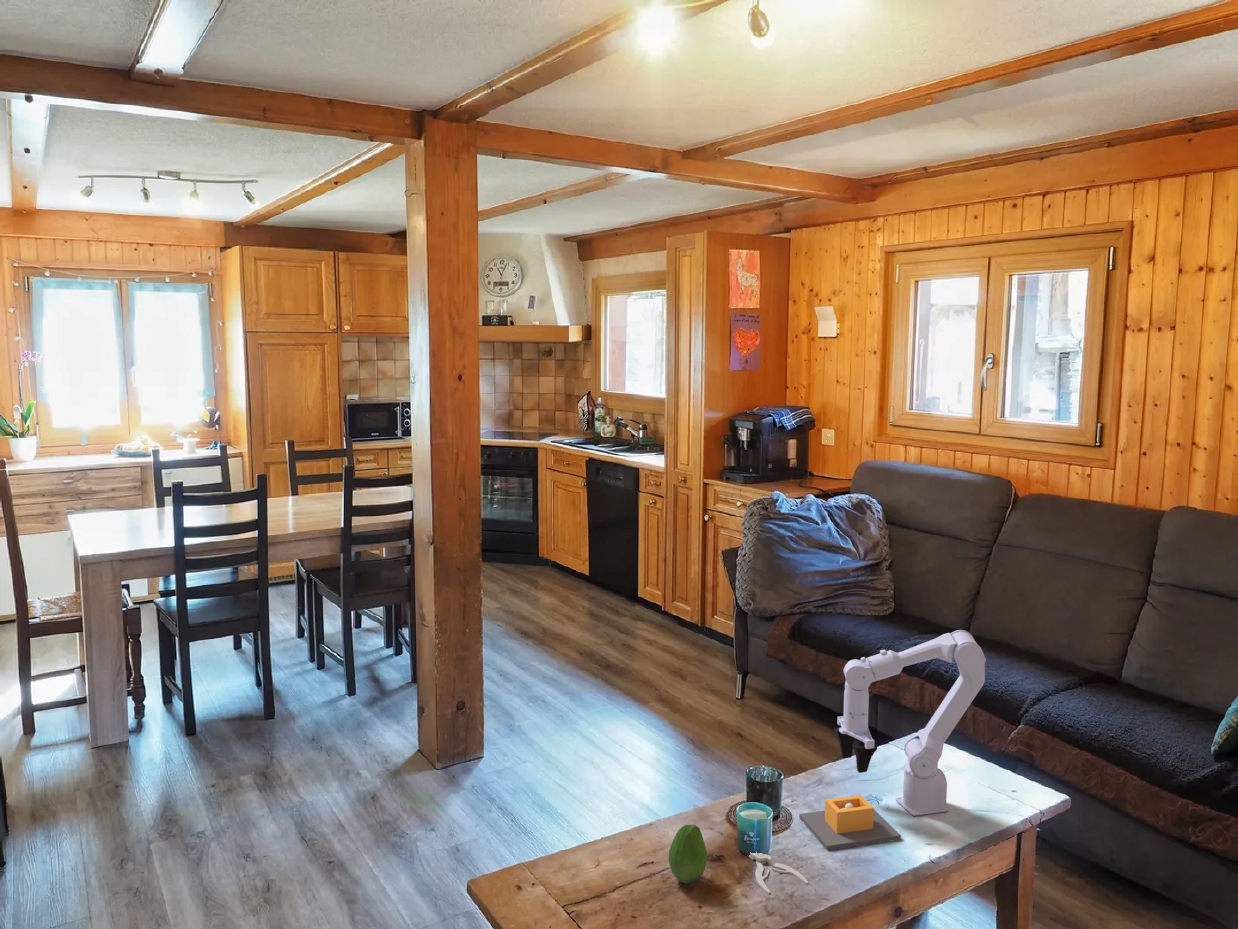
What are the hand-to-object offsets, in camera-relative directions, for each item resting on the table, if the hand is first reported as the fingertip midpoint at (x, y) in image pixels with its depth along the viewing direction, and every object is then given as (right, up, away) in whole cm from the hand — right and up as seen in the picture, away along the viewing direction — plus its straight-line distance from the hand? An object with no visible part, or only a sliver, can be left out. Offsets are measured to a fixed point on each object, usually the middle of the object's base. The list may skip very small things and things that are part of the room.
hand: (854, 764), depth 214 cm
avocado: (-43, -14, -30) cm, 54 cm away
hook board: (-4, -11, -11) cm, 16 cm away
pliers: (-25, -14, -27) cm, 39 cm away
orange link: (-4, -10, -11) cm, 16 cm away
